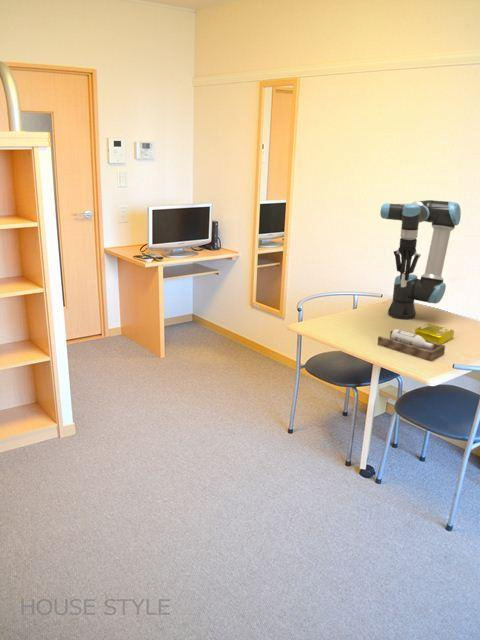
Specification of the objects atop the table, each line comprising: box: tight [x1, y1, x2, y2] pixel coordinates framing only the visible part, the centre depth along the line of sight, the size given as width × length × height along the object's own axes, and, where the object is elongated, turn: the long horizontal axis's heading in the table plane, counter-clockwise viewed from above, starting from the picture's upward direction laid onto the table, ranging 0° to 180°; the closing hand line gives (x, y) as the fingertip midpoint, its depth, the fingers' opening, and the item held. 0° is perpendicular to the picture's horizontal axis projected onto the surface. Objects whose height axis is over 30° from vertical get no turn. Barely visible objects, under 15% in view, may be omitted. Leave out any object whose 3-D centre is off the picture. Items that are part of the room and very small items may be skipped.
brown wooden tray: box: [377, 330, 446, 362], centre depth 256 cm, size 28×13×4 cm, turn 45°
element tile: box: [414, 323, 455, 345], centre depth 272 cm, size 15×15×5 cm
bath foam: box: [391, 328, 434, 350], centre depth 256 cm, size 7×7×20 cm
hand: (403, 286), depth 260 cm, fingers closed
